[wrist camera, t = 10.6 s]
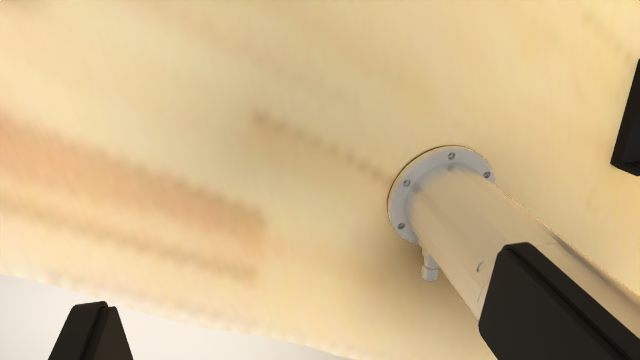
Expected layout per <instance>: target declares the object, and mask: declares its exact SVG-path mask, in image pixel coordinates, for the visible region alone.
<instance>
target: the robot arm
mask: <svg viewBox="0 0 640 360" xmlns="http://www.w3.org/2000/svg"><path fill="white" fill-rule="evenodd" d="M388 215H389V219H390V221H391V223H392V225H393V227H394V229H395V230H396V231H397V233H398V234H399V235H400V236H401V237H402V238H403V239H405V240H407V241H408V242H410V243H413V244H416V245H420V246H421V248H422V255H423V257H424V262H423V266H422V272H421V276H422V278H423V279H424V280H426V281H430V282H431V281H435V280H437V278H438V272H439V267H440V269H441V270H442V271H443V273H444V274H445V275H446V277H447V278H448V280H449V281H450V282H451V284H452V285H453V286H454V288H455V289H456V291H457V292H458V293H459V295H460V296H461V297H462V299H463V300H464V301H465V303H466V304H467V306H468V307H469V308H470V310H471V311H472V312H473V314H474V315H475V317H476V318H477V319H478V321H479V324H478V326H479V332H480V334H481V336H482V338H483V339H484V341H485V342H486V344H487V345H488V346H489V348H490V349H491V351H492V352H493V354H494V355H495V356H496V358H497V359H498V360H640V296H638V295H637V294H635V293H634V292H633V291H631V290H630V289H628V288H627V287H626V286H624V285H623V284H622V283H620V282H619V281H618V280H616V279H615V278H613V277H612V276H611V275H609V274H608V273H607V272H605V271H604V270H603V269H601V268H600V267H598V266H597V265H596V264H595V263H593V262H592V261H591V260H589V259H588V258H587V257H586V256H584V255H583V254H582V253H580V252H579V251H578V250H577V249H575V248H574V247H573V246H572V245H570V244H569V243H568V242H566V241H565V240H564V239H563V238H561V237H560V236H559V235H557V234H556V233H555V232H554V231H552V230H551V229H550V228H549V227H547V226H546V225H545V224H543V223H542V222H541V221H540V220H538V219H537V218H536V217H535V216H533V215H532V214H531V213H529V212H528V211H527V210H526V209H524V208H523V207H522V206H520V205H519V204H518V203H517V202H515V201H514V200H513V199H512V198H510V197H509V196H508V195H506V194H505V193H504V192H503V191H501V190H500V189H499V188H498V187H496V186H495V183H494V175H493V171H492V169H491V167H490V165H489V164H488V162H487V161H486V160H485V159H484V158H483V157H482V156H481V155H479V154H478V153H476V152H475V151H473V150H471V149H468V148H466V147H460V146H445V147H440V148H436V149H433V150H431V151H428V152H426V153H424V154H422V155H421V156H419V157H417V158H416V159H414V160H413V161H412V162H411V163H410V164H409V165H407V166H406V167H405V169H404V170H403V171H402V172H401V173H400V174H399V176H398V177H397V179H396V181H395V182H394V184H393V186H392V189H391V191H390V194H389V199H388ZM48 360H133V357H132V354H131V350H130V347H129V344H128V342H127V338H126V335H125V333H124V329H123V326H122V323H121V320H120V317H119V314H118V311H117V308H116V307H115V306H114V307H108V305H107V303H106V302H105V301H100V302H93V303H85V304H78V305H75V306H73V308H72V309H71V311H70V313H69V315H68V317H67V320H66V321H65V324H64V326H63V328H62V330H61V333H60V334H59V337H58V339H57V341H56V343H55V346H54V348H53V350H52V352H51V354H50V356H49V358H48Z"/></svg>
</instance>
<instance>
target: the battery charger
mask: <svg viewBox="0 0 640 360" xmlns="http://www.w3.org/2000/svg"><path fill="white" fill-rule="evenodd" d="M610 164H612V165H613V166H615V167H617V168H618V169H621V170H623V171H625V172H628V173H630V174H633V175H635V176H640V59H639V60H638V64H637V68H636V71H635V75H634V78H633V82H632V86H631V89H630V93H629V97H628V100H627V104H626V107H625V111H624V115H623V118H622V122H621V126H620V129H619V133H618V136H617V140H616V144H615V147H614V151H613V155H612V158H611V162H610Z"/></svg>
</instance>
